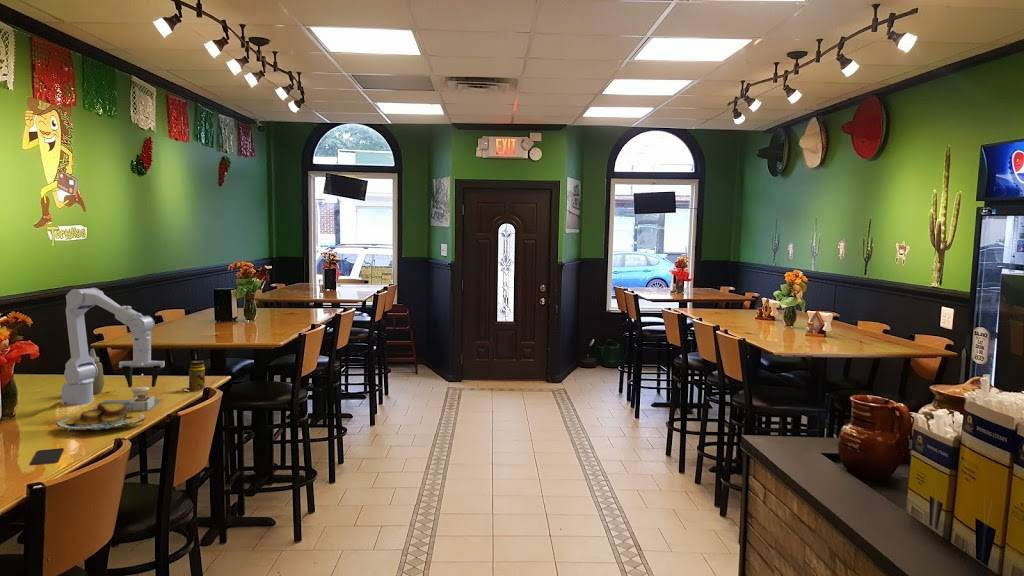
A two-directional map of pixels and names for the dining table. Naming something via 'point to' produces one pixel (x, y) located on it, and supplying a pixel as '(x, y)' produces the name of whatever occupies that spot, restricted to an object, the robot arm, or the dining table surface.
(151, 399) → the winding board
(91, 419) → the food on plate
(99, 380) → the squeeze bottle
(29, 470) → the dining table surface
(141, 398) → the tan small block
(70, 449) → the dining table surface
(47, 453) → the smartphone
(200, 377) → the condiment
